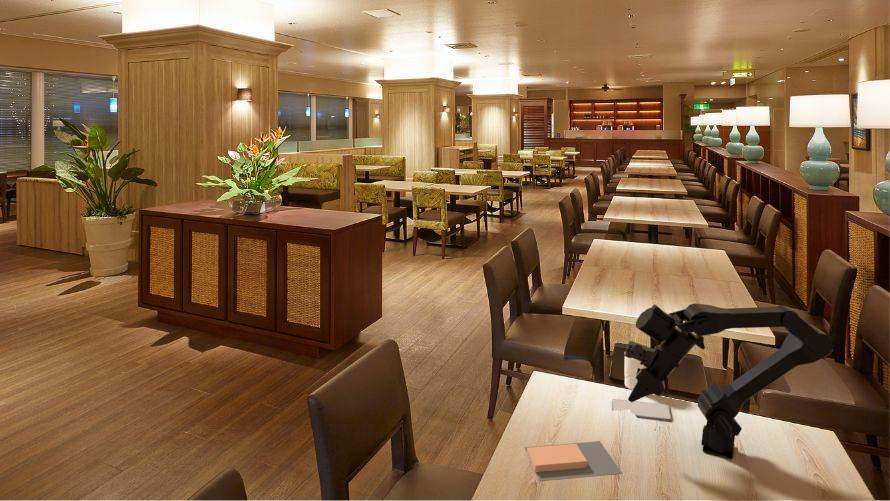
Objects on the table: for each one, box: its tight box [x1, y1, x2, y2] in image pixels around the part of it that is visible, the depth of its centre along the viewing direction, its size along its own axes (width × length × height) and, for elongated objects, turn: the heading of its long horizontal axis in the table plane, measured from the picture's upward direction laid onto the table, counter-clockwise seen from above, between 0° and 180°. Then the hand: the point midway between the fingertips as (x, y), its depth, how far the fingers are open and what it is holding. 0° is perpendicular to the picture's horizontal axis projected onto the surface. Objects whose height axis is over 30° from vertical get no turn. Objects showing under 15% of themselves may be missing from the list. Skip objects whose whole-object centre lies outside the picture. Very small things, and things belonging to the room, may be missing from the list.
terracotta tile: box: [526, 443, 587, 473], centre depth 130 cm, size 2×7×12 cm
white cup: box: [623, 355, 644, 391], centre depth 165 cm, size 8×8×10 cm
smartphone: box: [611, 398, 672, 422], centre depth 153 cm, size 8×1×15 cm
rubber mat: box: [524, 440, 623, 482], centre depth 130 cm, size 19×13×1 cm
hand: (629, 400), depth 134 cm, fingers closed
